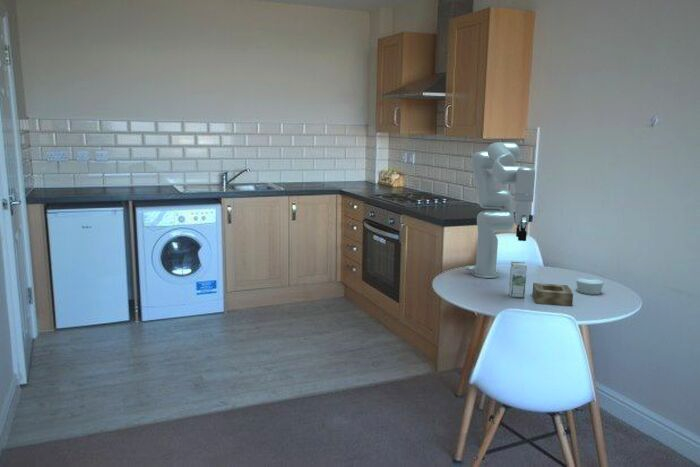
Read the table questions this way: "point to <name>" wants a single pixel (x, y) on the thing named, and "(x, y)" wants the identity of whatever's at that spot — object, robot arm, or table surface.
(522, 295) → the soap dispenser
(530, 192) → the robot arm
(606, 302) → the table surface
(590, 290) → the ramekin
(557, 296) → the socket block
